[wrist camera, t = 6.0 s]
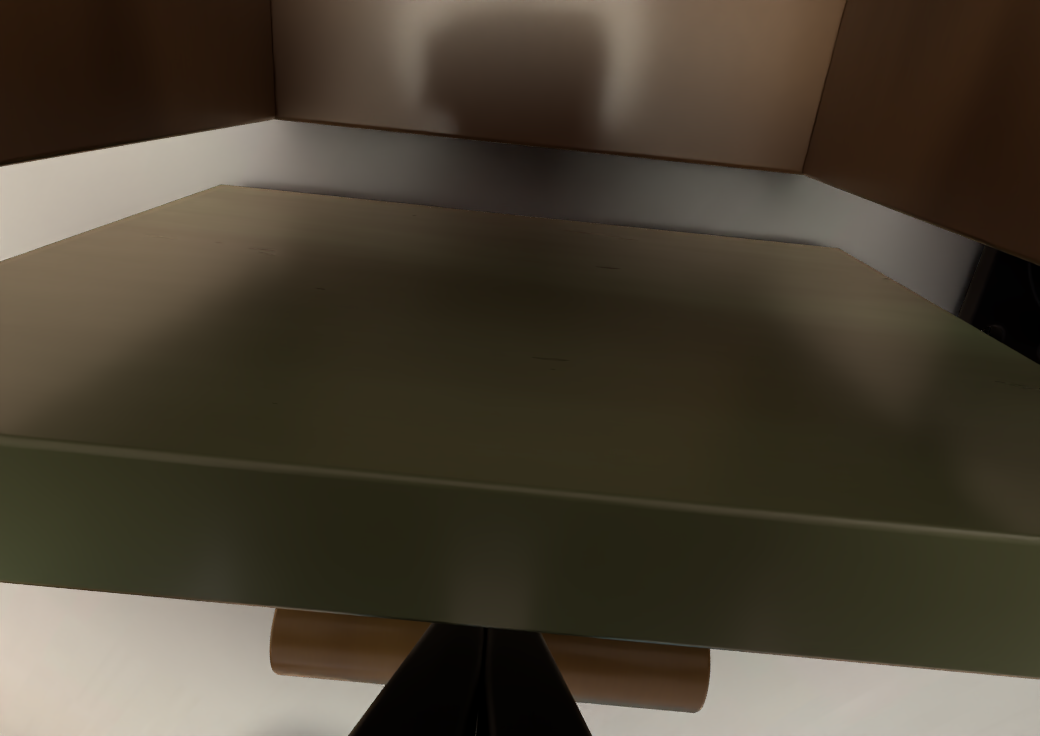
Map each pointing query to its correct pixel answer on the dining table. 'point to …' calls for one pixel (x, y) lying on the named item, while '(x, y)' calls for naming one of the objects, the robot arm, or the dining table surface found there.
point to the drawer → (533, 341)
